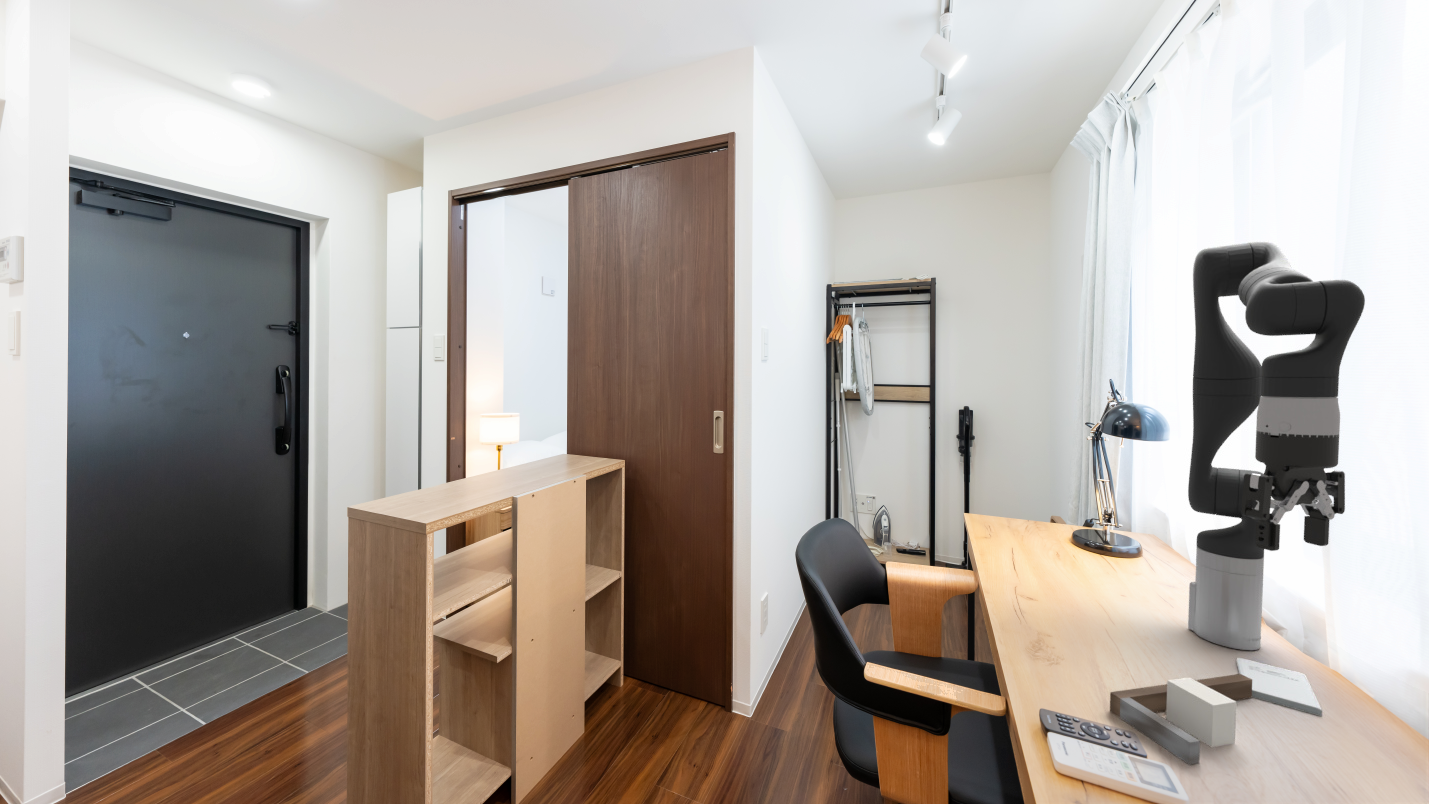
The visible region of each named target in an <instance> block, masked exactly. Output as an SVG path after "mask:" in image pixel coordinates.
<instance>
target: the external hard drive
mask: <svg viewBox="0 0 1429 804" xmlns="http://www.w3.org/2000/svg"><path fill="white" fill-rule="evenodd" d="M1236 665H1237V669H1238V674H1242V675H1244V676H1246V677H1248V678H1250V679H1252V698H1254V699H1255V698H1256V699H1258V700H1263V701H1267V702H1270V703H1273V704H1275V705H1276V704H1277V705H1280V706H1284V707H1287V708H1290V709H1295V710H1298V711H1301V712H1305V713H1308V714H1311V715H1316V716H1320V717H1322V716H1323V709H1322V707H1321V706H1320V705H1321V704H1320V703H1319V701H1318V699H1317V697H1316V695H1315V693H1314V690H1313V688H1312V686H1311V684H1310V681H1309V680H1308V679H1309V678H1307V676H1306V674H1304V673H1302V672H1299V671H1294V670H1290V669H1286V668H1282V667H1278V666H1275V665H1271V664H1270V665H1269V664H1266V663H1262V662H1258V661H1255V660H1250V659H1246V658H1243V657H1237V658H1236Z"/></svg>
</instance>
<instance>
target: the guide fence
mask: <svg viewBox="0 0 1429 804" xmlns="http://www.w3.org/2000/svg"><path fill="white" fill-rule="evenodd" d="M1194 680H1195V681H1197V682H1199V683H1201V684H1203V685H1205V686H1207V687H1209V688H1211V689H1213V690H1215V691H1217V692H1218V693H1220V694H1222V695H1224V696H1226V697H1228V698H1230V699H1232V700H1234V701H1240V700H1247V699H1252V698H1253V697H1252V679H1250V678H1248V677H1246V676H1244V675H1242V674H1239V673H1236V674H1229V675H1222V676H1216V677H1209V678H1200V679H1194ZM1109 695H1110V696H1109V712H1110V713H1111V714H1113V715H1115V716H1116V717H1117V718H1119V719H1121V720H1122V721H1123V722H1125V723H1126V724H1128V725H1129V726H1131V727H1133V728H1134V729H1135V730H1136V731H1138V732H1140V733H1141V734H1143V735H1144V736H1146V737H1147V738H1149V739H1150V740H1151V741H1153V742H1155V743H1156V744H1158V745H1159V744H1160V745H1159V746H1161V745H1162V746H1163V747H1162V746H1161V747H1162V748H1163V749H1165V748H1166V749H1165V750H1166V751H1168V752H1169V753H1171V754H1173V755H1174V756H1175V757H1177V758H1179V759H1180V760H1182V761H1183V762H1185V763H1186V764H1188V765H1196V764H1200V749H1201V747H1200V746H1201V740H1199V739H1197V738H1196V737H1194V736H1192V735H1191V734H1189V733H1188V732H1186V731H1184V730H1183V729H1181V728H1179V727H1178V726H1176V725H1175V724H1173V723H1171V722H1170V721H1168V720H1167V719H1166V718H1164V717H1162V716H1161V715H1159V714H1157V713H1162V712H1166V707H1167V683H1165V684H1159V685H1151V686H1145V687H1144V686H1143V687H1137V688H1131V689H1124V690H1123V689H1122V690H1116V691H1110V692H1109Z"/></svg>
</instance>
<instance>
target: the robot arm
mask: <svg viewBox="0 0 1429 804" xmlns="http://www.w3.org/2000/svg"><path fill="white" fill-rule="evenodd" d="M1192 287H1193V290H1192V291H1193V306H1194V307H1193V308H1194V324H1195V327H1194V328H1195V329H1194V330H1195V342H1194V356H1193V368H1192V369H1193V373H1192V417H1193V418H1192V421H1193V422H1192V423H1193V425H1192V428H1193V430H1192V447H1191V453H1190V454H1191V456H1190V466H1189V473H1188V474H1189V476H1188V485H1187V486H1188V487H1187V488H1188V490H1187V491H1188V492H1187V495H1188V496H1187V497H1188V503H1189V506H1190V508H1191V509H1192V510H1193V511H1195V512H1197V513H1202V514H1208V515H1213V516H1214V515H1216V516H1221V517H1228V518H1236V519H1237V518H1238V519H1241V521H1240V522H1239V523H1236V524H1234V525H1232V526H1229V527H1223V528H1217V529H1214V528H1213V529H1206V530H1202V531H1200V532H1198V533H1197V535H1196V554H1195V555H1196V559H1195V579H1194V580H1195V581H1191V582H1190V583H1189V590H1188V615H1187V616H1188V618H1187V619H1188V620H1187V628H1188V629H1189V630H1191V631H1192V632H1194V634H1196V635H1197V636H1198V637H1200V638H1202V639H1203V640H1206V641H1208V642H1210V643H1213V644H1216V645H1220V646H1222V647H1226V648H1230V649H1236V650H1242V651H1256V650H1259V649H1260V648H1261V640H1262V618H1263V617H1262V615H1263V590H1264V589H1263V588H1264V566H1265V550H1267V551H1269V552H1275V551H1279V549H1280V539H1281V538H1280V537H1281V536H1280V534H1281V524H1280V521H1281V519H1282V518H1283V517H1284V515H1285V514H1286V513H1287V512H1288V513H1289V512H1290V511H1292V510H1293V509H1294V508H1295V506H1299V505H1300V507H1301V508H1302V510H1303V512H1304V513H1305V515H1304V525H1303V541H1304V542H1305V543H1307V544H1310V545H1314V546H1319V547H1324V546H1325V547H1326V546H1327V545H1329V542H1330V541H1329V540H1330V536H1329V535H1330V520H1333V519H1334V518H1335V517H1336V516H1335V515H1336V514H1339V515H1343V514H1344V513H1345V511H1346V505H1345V504H1346V492H1345V491H1346V489H1345V488H1346V487H1345V486H1346V480H1345V479H1346V473H1345V472H1344V471H1341V470H1335V469H1333V468H1335V467H1337V466H1338V464H1339V451H1340V450H1339V449H1340V433H1341V432H1340V431H1341V430H1340V428H1341V427H1340V426H1341V424H1340V423H1341V412H1340V406H1339V385H1340V383H1339V381H1340V380H1339V379H1340V377H1339V376H1340V367H1341V363H1342V360H1343V357H1344V353H1345V351H1346V349H1347V346H1348V343H1349V341H1350V338H1351V337H1352V334H1353V332H1354V331H1355V329H1356V327H1357V325H1358V323H1359V320H1360V318H1361V317H1362V314H1363V312H1364V309H1365V304H1366V298H1365V293H1363V290H1362V289H1361V288H1360V286H1359V285H1357V284H1356V283H1354V282H1352V281H1350V280H1347V279H1329V280H1328V279H1327V280H1319V281H1314V280H1313V279H1312V278H1310V277H1308V276H1307V275H1305V274H1304V273H1301V272H1300V271H1298V270H1296V269H1293V267H1292V265H1291V263H1290V262H1289V260H1288V259H1287V257H1286V256H1285V254H1284V253H1283V251H1282V249H1281V248H1280V247H1279V246H1277V244H1274V243H1273V242H1269V241H1252V242H1245V243H1237V244H1228V245H1219V246H1215V247H1214V246H1213V247H1207V248H1203V249H1201V250H1199V252H1198V253H1197V254H1196V256H1195V258H1194V261H1193V268H1192ZM1232 296H1238V298H1239V300H1240V302H1241V303H1242V305H1244V306H1245V315H1244V316H1245V323H1246V325H1247V327H1248V329H1249V330H1250V331H1251V332H1252V333H1255V334H1258V335H1262V336H1266V337H1267V336H1268V337H1270V336H1271V337H1273V336H1274V337H1277V336H1298V335H1300V336H1301V335H1302V336H1303V335H1304V336H1305V335H1315V336H1314V339H1313V341H1312V342H1311V343H1309V345H1308V346H1306V347H1305V348H1302V349H1299V350H1293V351H1287V352H1282V353H1276V354H1272V355H1269V356H1267V357H1265V358H1263V360H1262V363H1260V360H1259V359H1258V358H1257V356H1256V354H1254V352H1253V351H1252V350H1251V349H1250V348H1249V347H1248V345H1246V343H1245V342H1243V341H1242V339H1241V338H1239V336H1238V335H1237V334H1236V333H1235V331H1233V329H1232V327H1230V325H1229V323H1228V322H1227V320H1226V319H1225V317H1224V314H1223V313H1222V310H1221V307H1220V301H1219V298H1221V297H1222V298H1224V297H1232ZM1256 409H1257V411H1256ZM1255 411H1256V430H1255V436H1256V437H1255V452H1254V453H1255V457H1254V458H1255V460H1256V461H1258V462H1259V463H1263V464H1264V465H1265V468H1264V469H1265V470H1264V473H1263V472H1262V471H1257V470H1249V469H1239V468H1238V469H1237V468H1226V467H1215V466H1213V465H1212V463H1213V460H1214V458H1215V457H1216V454H1217V453H1218V451H1219V450H1220V448H1221V447H1222V446H1223V444H1224V443H1225V442H1226V440H1227V439H1228V438H1229V437H1230V436H1231V435H1232V434H1233V433H1234V432H1235V431H1236V430H1237V429H1238V428H1239V427H1240V426H1241V425H1242V424H1243V423H1245V421H1247V419H1248V418H1250V417H1251V416H1252V415H1253V413H1254V412H1255ZM1331 468H1332V469H1331ZM1330 496H1331V497H1332V498H1333V501H1332V499H1331V497H1330ZM1271 509H1273V510H1272V511H1271Z"/></svg>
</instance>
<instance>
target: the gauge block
mask: <svg viewBox="0 0 1429 804" xmlns="http://www.w3.org/2000/svg"><path fill="white" fill-rule="evenodd" d="M1195 680H1196V679H1193V678H1192V677H1190V676H1189V677H1182V678H1175V679H1167V682H1166V684H1167V707H1166V711H1165V712H1166V713H1165V720H1167V721H1169V722H1170V723H1172V724H1173V725H1175V726H1177V727H1178V728H1180V729H1181V730H1183V731H1185V732H1186V733H1188V734H1190V735H1191V736H1192V735H1193V737H1194V738H1196V739H1197V738H1198V740H1199V741H1200V742H1202V743H1204V744H1205V743H1206V744H1205V745H1207V746H1208V747H1210V746H1211V747H1210V748H1216V747H1221V746H1222V747H1223V746H1228V745H1234V744H1236V727H1237V726H1236V724H1237V723H1236V721H1237V700H1235V701H1234V700H1232V699H1230V698H1228V697H1226V696H1224V695H1222V694H1220V693H1218V692H1217V691H1215V690H1213V689H1211V688H1209V687H1207V686H1205V685H1203V684H1201V683H1199V682H1197V681H1195Z"/></svg>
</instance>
